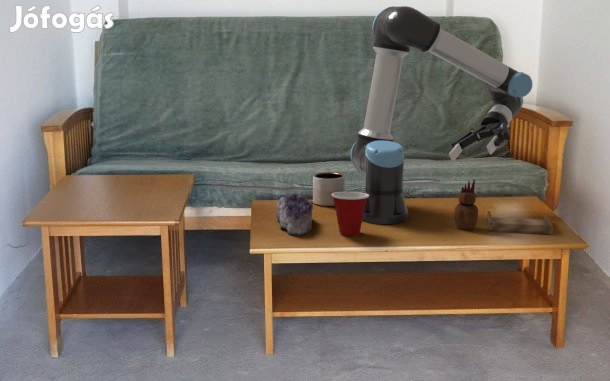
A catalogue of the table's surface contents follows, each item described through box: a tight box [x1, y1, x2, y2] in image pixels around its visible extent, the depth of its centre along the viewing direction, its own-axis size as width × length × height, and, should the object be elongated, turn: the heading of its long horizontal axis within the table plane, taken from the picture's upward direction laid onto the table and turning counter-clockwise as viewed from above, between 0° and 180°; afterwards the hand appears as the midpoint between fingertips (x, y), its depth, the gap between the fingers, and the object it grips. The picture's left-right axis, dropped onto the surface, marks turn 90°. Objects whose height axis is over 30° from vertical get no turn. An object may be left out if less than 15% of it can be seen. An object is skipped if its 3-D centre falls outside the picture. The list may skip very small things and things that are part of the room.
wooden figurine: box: [453, 179, 479, 231], centre depth 204 cm, size 7×6×15 cm
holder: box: [486, 210, 554, 235], centre depth 208 cm, size 18×13×2 cm
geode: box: [275, 193, 314, 237], centre depth 209 cm, size 20×12×10 cm, turn 9°
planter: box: [312, 171, 346, 207], centre depth 235 cm, size 11×11×10 cm
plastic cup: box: [332, 191, 369, 237], centre depth 201 cm, size 11×11×12 cm
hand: (469, 154), depth 212 cm, fingers open, 13 cm apart
